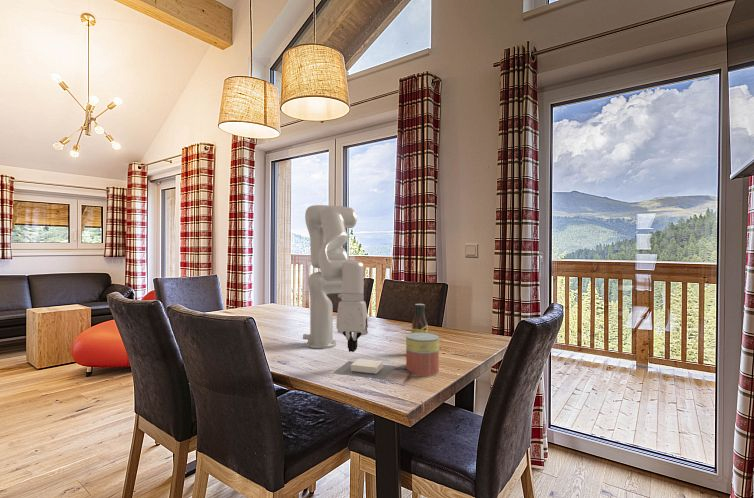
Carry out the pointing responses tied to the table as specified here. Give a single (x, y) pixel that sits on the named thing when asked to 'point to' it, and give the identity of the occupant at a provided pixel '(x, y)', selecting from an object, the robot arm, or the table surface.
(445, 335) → the table surface
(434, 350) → the canned food
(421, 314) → the sauce bottle
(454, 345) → the table surface
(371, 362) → the tile
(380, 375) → the slate board
